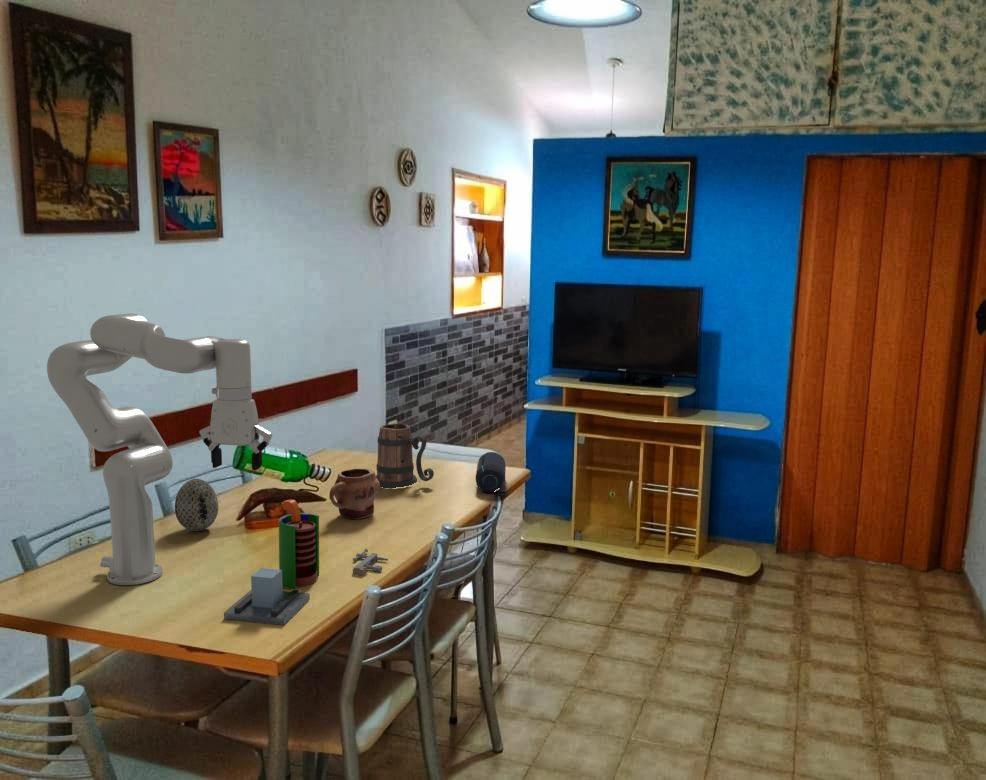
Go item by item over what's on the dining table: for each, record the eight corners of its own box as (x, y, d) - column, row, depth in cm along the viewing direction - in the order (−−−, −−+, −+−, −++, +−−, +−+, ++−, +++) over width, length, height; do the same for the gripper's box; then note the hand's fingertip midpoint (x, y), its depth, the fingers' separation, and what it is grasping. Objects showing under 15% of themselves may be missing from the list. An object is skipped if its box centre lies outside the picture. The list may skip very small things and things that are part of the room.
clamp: (374, 570, 211) (337, 565, 214) (374, 579, 211) (337, 574, 214) (398, 550, 225) (364, 546, 228) (398, 558, 225) (364, 554, 228)
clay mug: (349, 529, 247) (349, 482, 245) (316, 522, 252) (315, 476, 250) (389, 511, 264) (389, 467, 262) (357, 505, 270) (357, 462, 268)
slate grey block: (252, 606, 189) (251, 576, 188) (265, 594, 196) (264, 565, 195) (273, 608, 189) (272, 578, 187) (285, 596, 195) (284, 567, 194)
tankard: (361, 484, 293) (360, 427, 290) (388, 473, 308) (388, 419, 305) (419, 494, 283) (419, 435, 280) (444, 482, 298) (445, 426, 295)
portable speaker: (477, 476, 307) (478, 449, 306) (505, 476, 307) (505, 449, 305) (474, 495, 282) (475, 466, 281) (504, 496, 282) (505, 467, 281)
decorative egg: (184, 539, 236) (182, 487, 233) (169, 528, 245) (167, 478, 242) (225, 531, 243) (223, 480, 241) (210, 521, 252) (208, 472, 250)
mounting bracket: (224, 619, 186) (223, 608, 186) (253, 594, 200) (252, 584, 199) (284, 625, 184) (283, 614, 183) (309, 599, 197) (309, 589, 197)
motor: (307, 590, 202) (305, 509, 199) (272, 587, 204) (269, 506, 201) (323, 574, 212) (322, 497, 209) (290, 571, 214) (288, 494, 211)
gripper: (190, 395, 190) (193, 469, 193) (262, 398, 187) (265, 474, 190) (207, 389, 198) (210, 461, 200) (277, 393, 195) (279, 466, 197)
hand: (236, 467), depth 195 cm, fingers open, 9 cm apart
